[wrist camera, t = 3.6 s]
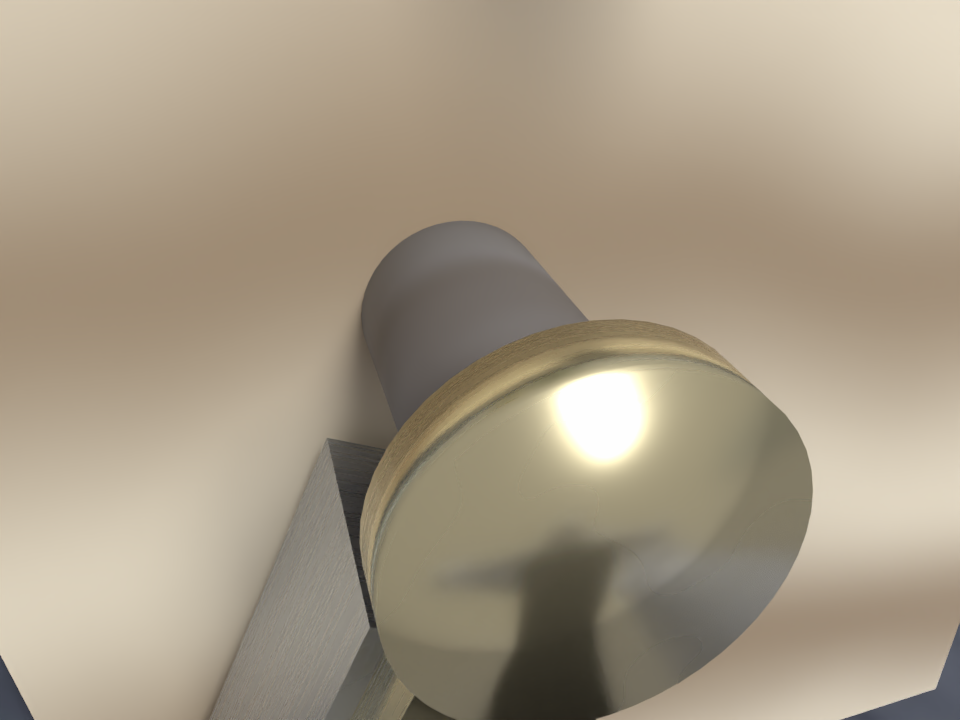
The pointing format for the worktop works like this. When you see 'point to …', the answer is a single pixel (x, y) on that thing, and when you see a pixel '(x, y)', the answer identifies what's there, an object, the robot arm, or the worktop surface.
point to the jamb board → (460, 297)
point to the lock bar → (533, 540)
